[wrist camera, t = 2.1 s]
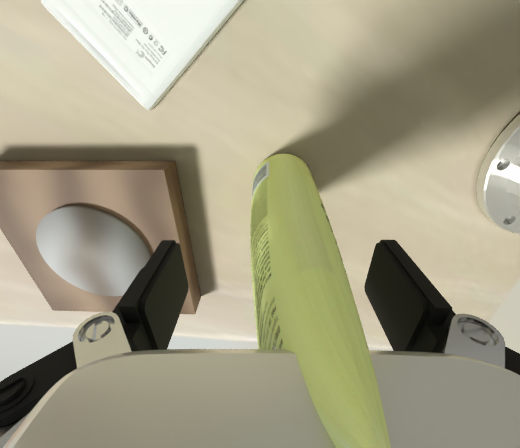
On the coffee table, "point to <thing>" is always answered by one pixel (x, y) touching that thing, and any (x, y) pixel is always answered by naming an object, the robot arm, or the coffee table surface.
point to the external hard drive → (143, 37)
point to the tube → (311, 302)
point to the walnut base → (93, 226)
